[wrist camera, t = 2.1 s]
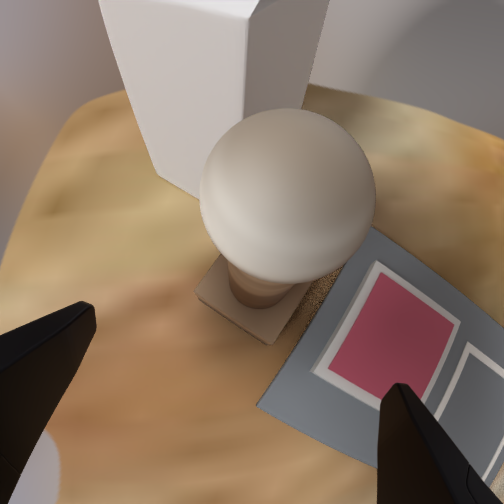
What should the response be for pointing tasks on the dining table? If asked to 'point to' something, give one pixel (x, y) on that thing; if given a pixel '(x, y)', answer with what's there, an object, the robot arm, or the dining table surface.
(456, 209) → the dining table surface
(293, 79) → the milk carton
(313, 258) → the walnut stamp
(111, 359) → the dining table surface
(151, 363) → the dining table surface
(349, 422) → the stamping board
